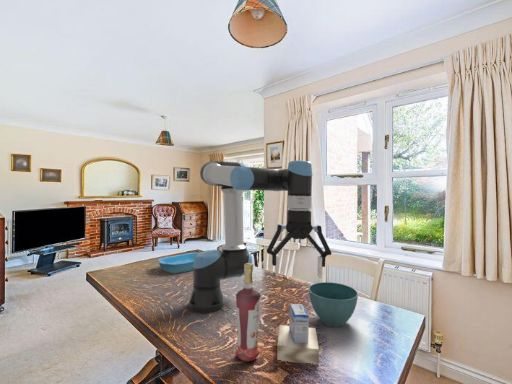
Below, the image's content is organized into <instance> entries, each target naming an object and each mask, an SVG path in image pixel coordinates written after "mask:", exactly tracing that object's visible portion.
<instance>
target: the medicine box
mask: <svg viewBox="0 0 512 384" xmlns="http://www.w3.org/2000/svg"><path fill="white" fill-rule="evenodd" d="M309 319H310V317H309V314H308V312H307V310H306V308H305V307H304V305H303V304H301V303H291V304H289V325H288V326H289V330H290V332H291V335H292V338H293V341H294V343H308V337H309V328H310V327H309V323H310V320H309Z"/></svg>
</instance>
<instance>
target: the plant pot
mask: <svg viewBox="0 0 512 384" xmlns="http://www.w3.org/2000/svg"><path fill="white" fill-rule="evenodd" d="M308 294H309V299H310V304H311V306H312V309H313V311H314V313H315V314H316V316H317V317H318V319H319V320H320V321H321V322H322V323H323V324H324V325H326V326H328V327H334V328H338V327H339V328H340V327H342V326H344V325H345V324H346V323H347V322H348V321H349V320H350V319H351V317H352V316H353V315H354V311H356V306H357V302H358V299H359V298H358V297H359V296H358V295H359V293H358V291H357V290H356V289H355V288H353V287H351V286H348V285H347V284H343V283H338V282H331V281H330V282H329V281H326V282H316V283H312V284H311V285H309V286H308Z"/></svg>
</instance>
